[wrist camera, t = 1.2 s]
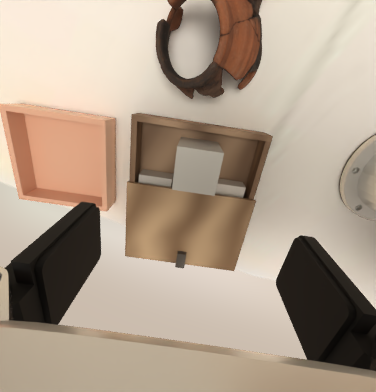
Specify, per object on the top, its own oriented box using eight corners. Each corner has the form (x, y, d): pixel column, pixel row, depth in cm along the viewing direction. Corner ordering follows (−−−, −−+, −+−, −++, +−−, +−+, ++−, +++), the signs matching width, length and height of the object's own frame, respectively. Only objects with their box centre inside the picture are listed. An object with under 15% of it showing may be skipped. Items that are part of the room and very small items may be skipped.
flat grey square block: (173, 173, 27) (172, 179, 25) (170, 197, 28) (168, 204, 26) (143, 169, 27) (138, 174, 25) (141, 193, 28) (137, 200, 26)
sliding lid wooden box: (265, 132, 25) (277, 138, 21) (230, 255, 33) (234, 275, 29) (137, 112, 25) (126, 114, 21) (132, 241, 33) (123, 260, 29)
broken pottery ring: (236, 116, 25) (203, 119, 19) (180, 73, 27) (133, 63, 21) (318, -10, 18) (309, -74, 11) (234, -55, 20) (187, -132, 13)
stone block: (217, 142, 25) (224, 153, 20) (210, 176, 27) (214, 195, 22) (181, 136, 25) (177, 146, 20) (176, 171, 27) (171, 189, 21)
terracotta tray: (115, 118, 25) (105, 120, 22) (115, 200, 30) (106, 211, 27) (21, 103, 25) (-2, 103, 22) (36, 189, 29) (19, 198, 26)
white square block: (242, 182, 27) (245, 187, 25) (235, 208, 29) (237, 215, 27) (216, 178, 27) (217, 183, 25) (210, 205, 29) (211, 212, 27)
